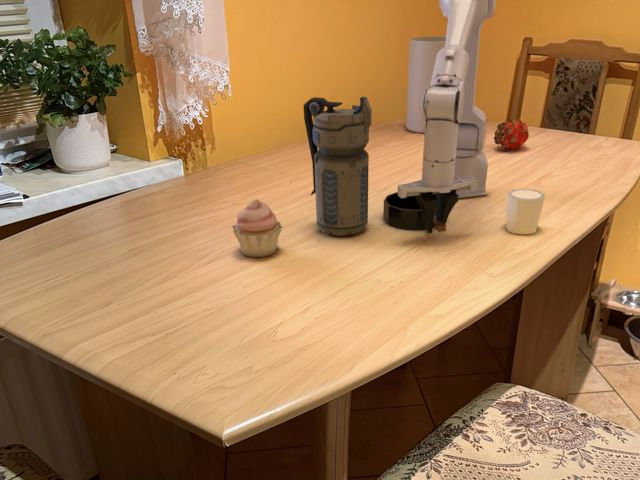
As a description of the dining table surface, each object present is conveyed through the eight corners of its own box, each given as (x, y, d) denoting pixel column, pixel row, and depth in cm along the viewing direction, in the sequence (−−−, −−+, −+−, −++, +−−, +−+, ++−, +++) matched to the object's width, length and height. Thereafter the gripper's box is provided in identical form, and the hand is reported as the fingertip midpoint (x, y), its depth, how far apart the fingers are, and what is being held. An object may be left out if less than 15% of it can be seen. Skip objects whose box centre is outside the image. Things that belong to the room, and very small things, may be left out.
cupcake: (243, 265, 113) (237, 211, 108) (228, 247, 120) (222, 195, 115) (292, 255, 116) (289, 202, 111) (274, 238, 123) (271, 187, 118)
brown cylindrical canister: (321, 215, 133) (318, 88, 120) (379, 224, 128) (382, 92, 115) (296, 231, 126) (290, 98, 113) (356, 242, 120) (357, 103, 107)
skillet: (376, 212, 134) (377, 193, 132) (430, 206, 136) (431, 188, 134) (410, 248, 117) (411, 228, 115) (470, 241, 119) (472, 221, 117)
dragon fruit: (493, 159, 171) (516, 156, 179) (520, 144, 164) (542, 142, 172) (482, 129, 171) (506, 128, 179) (508, 113, 164) (532, 112, 172)
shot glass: (540, 224, 126) (546, 189, 122) (538, 237, 120) (544, 201, 117) (504, 221, 128) (509, 187, 124) (501, 233, 122) (506, 198, 119)
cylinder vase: (404, 133, 191) (408, 41, 178) (406, 124, 201) (411, 36, 188) (447, 134, 189) (454, 41, 176) (447, 124, 199) (453, 36, 186)
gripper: (408, 168, 109) (404, 242, 116) (486, 160, 111) (478, 233, 118) (394, 157, 114) (392, 228, 122) (469, 150, 117) (462, 220, 124)
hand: (433, 230), depth 120 cm, fingers closed on skillet, 2 cm apart
